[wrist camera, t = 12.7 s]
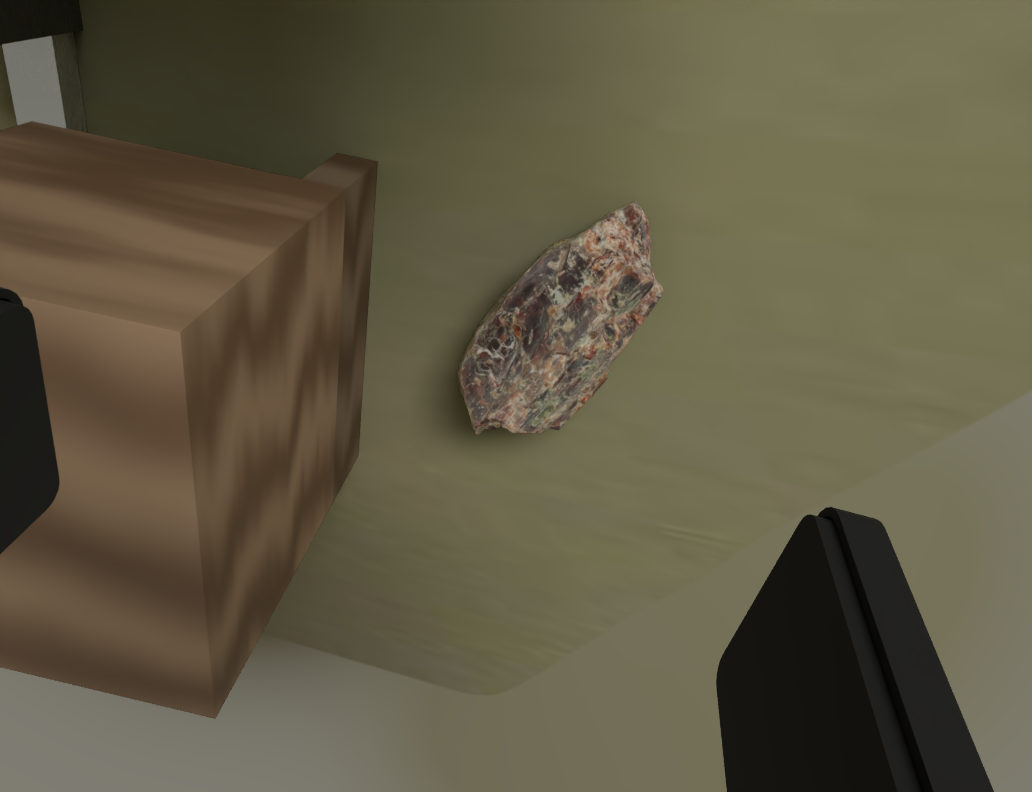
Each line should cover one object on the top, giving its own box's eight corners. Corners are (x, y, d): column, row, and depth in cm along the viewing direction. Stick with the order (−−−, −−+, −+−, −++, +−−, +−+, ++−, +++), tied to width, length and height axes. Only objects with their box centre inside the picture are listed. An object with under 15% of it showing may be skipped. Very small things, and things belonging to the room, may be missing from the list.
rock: (433, 447, 36) (635, 481, 34) (412, 222, 30) (655, 243, 28) (480, 378, 42) (656, 402, 40) (470, 177, 36) (677, 191, 34)
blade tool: (-14, -115, 31) (-139, -124, 26) (65, -99, 31) (-45, -105, 26) (63, 304, 42) (-14, 354, 37) (122, 317, 42) (52, 369, 37)
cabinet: (96, 101, 36) (-304, 224, 21) (377, 161, 35) (180, 331, 20) (137, 405, 45) (-114, 639, 30) (358, 455, 45) (215, 718, 30)
